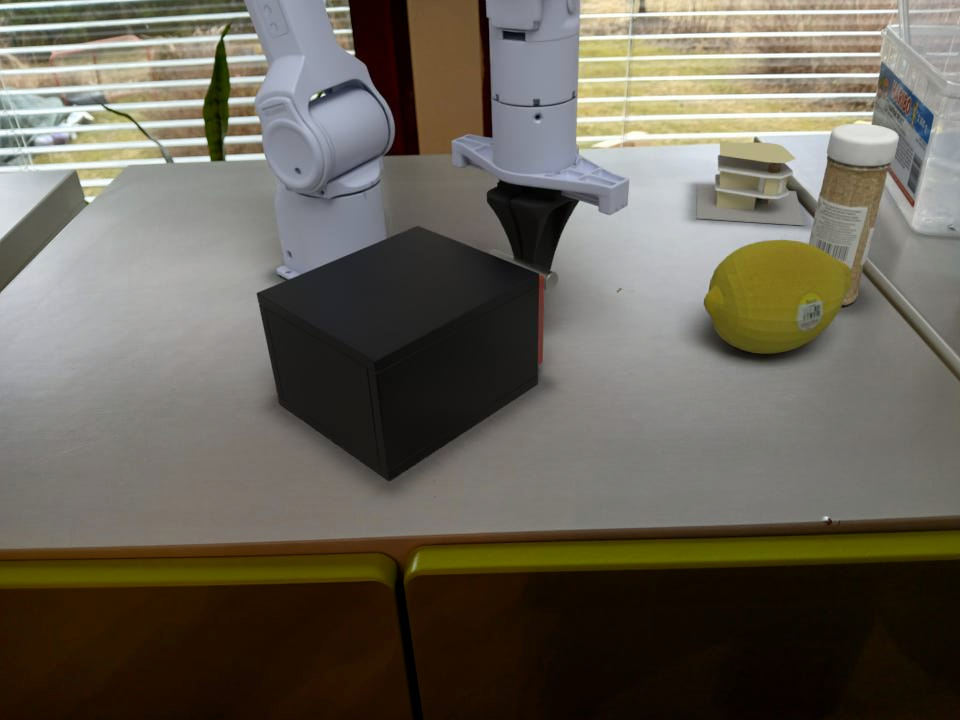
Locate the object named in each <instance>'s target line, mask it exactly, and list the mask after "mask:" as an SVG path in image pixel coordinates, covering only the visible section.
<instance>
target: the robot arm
mask: <svg viewBox="0 0 960 720" xmlns="http://www.w3.org/2000/svg"><path fill="white" fill-rule="evenodd" d="M243 2H244V4H245V7H246V10H247V12H248V15H249V18H250V21H251V23H252V25H253V28H254V31H255V33H256V36H257V38H258V41H259V44H260V47H261V50H262V51H263V55H264V57H265V60H266V63H267V64H268V65H267V66H268V70H267V72H266V75H265V77H264V78H263V81H262V83H261V85H260V87H259V90H258V91H257V92H256V93H257V94H256V95H255V98H254V101H253V106H254V109H255V112H256V114H257V116H258V119H259V123H260V127H261V128H260V129H261V144H262V145H261V146H262V151H263V154H264V158H265V160H266V162H267V164H268V166H269V168H270V171H272V173H273V175H274V176H275V177H276V178H277V180H278V181H279V183H278V185H277V188H276V189H275V193H274V198H273V207H274V214H275V219H276V220H275V221H276V225H277V231H278V235H279V237H278V238H279V243H280V247H281V252H282V257H283V263H284V264H283V265H281V266H279V267H277V268H276V274H277V275H278V276H280V277H283V278H284V279H286V280H289V279H291V278H294V277H296V276H298V275H301V274H303V273H306V272H308V271H310V270H313V269H315V268H318V267H320V266H322V265H325V264H327V263H329V262H332V261H334V260H337V259H339V258H341V257H344V256H346V255H349V254H351V253H353V252H356V251H358V250H361V249H363V248H365V247H368V246H370V245H373V244H375V243H377V242H380V241H382V240H385V239H387V238H388V237H387V228H386V217H385V207H384V198H383V197H384V196H383V187H382V178H381V172H382V171H383V170H385V167H384V156H385V155H386V154H387V153H388V152H389V151H390V149H391V148H392V145H393V143H394V140H395V135H396V125H395V120H394V115H393V113H392V111H391V108H390V106H389V104H388V103H387V101H386V100H385V98H384V97H383V96H382V95H381V94H380V92H379V91H378V90H377V88H376V87H375V85H374V83H373V81H372V79H371V77H370V73H369V70H368V67H367V65H366V64H365V63H364V62H363V61H361V60H360V59H359V58H357V57H356V56H354V55H353V54H351V53H350V52H348V51H347V50H345V49H344V48H343V47H342V46H341V45H339V44H338V40H337V37H336V35H335V32H334V29H333V26H332V23H331V20H330V17H329V15H328V12H327V9H326V5H325V2H324V0H243ZM485 10H486V11H485V12H486V13H485V14H486V18H488V30H489V32H488V33H489V38H488V39H489V64H490V102H491V125H492V126H491V128H492V129H491V130H492V131H491V133H492V137H489V136H488V137H487V136H481V135H476V134H471V133H468V134H466V135H463V136H460V137H458V138H455V139H453V140H451V141H450V143H451V157H452V158H451V159H452V166H454V167H457V168H459V169H464V168H467V167H472V168H473V169H478V170H481V171H484V172H487V173H489V174H490V175H491V176H493V177H494V178H496V179H497V180H498V181H497V183H496V186H495V187H491V188H490V189H489V190H487V191H486V203H487V204H488V206H489V207H490V209H491V210H492V211H493V212H494V214H495V216H496V217H497V219H498V221H499V223H500V224H501V227H502V229H503V231H504V233H505V235H506V237H507V240H508V243H509V245H510V249H511V252H512V256H514V257H516V258H518V259H521V260H523V261H526V262H529V263H531V264H535V265H538V266H540V267H543V268H545V269H548V270H550V271H552V270H551V269H552V266H553V262H554V258H555V255H556V252H557V247H558V245H559V242H560V239H561V237H562V234H563V232H564V231H565V230H564V229H565V227H566V225H567V224H568V222H569V220H570V218H571V216H572V214H573V212H574V210H575V209H576V207H577V206H578V204H579V203H580V202H582V203H586V204H588V205H593V206H595V207H597V208H598V211H597V212H599V213H600V214H604V215H607V216H612V215H613V214H615V213H618V212H620V211H621V210H622V209H624V208H627V207H628V204H629V193H630V192H629V191H630V178H628V177H626V176H622V175H619V174H616V173H614V172H612V171H610V170H608V169H606V168H604V167H603V166H601V165H599V164H597V163H596V162H594V161H592V160H590V159H588V158H586V157H585V156H583V155H581V154H580V146H579V145H578V144H577V129H578V128H577V127H578V126H577V125H578V95H579V68H580V67H579V65H580V63H579V62H580V31H581V30H580V28H581V16H580V15H581V0H485ZM320 92H321V93H323V94H324V95H322V96H319V97H317V98H315V99H312V97H313V96H314V95H316V94H317V93H320ZM311 99H312V100H311Z"/></svg>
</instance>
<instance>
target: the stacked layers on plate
mask: <svg viewBox="0 0 960 720" xmlns="http://www.w3.org/2000/svg"><path fill="white" fill-rule="evenodd" d="M794 160H796V156H794V155H793V154H792V152H790V151H788V149H787V148H785V146H782V145H780V144H778V143H773V142H719V154H718V155H717V171H719V173H718V174H717V173H716V174H715V175H714V186H711V185H697V193H696V194H697V195H696V196H697V197H696V198H697V199H696V219H699V220H700V219H701V220H716V221H717V220H718V221H731V222H746V223H760V224H777V225H791V226H805V223H804V219H803V215H802V211H801V210H802V209H801V207H800V202H799V198H798V195H797V191H796V190H789V189H788V188H787V182H788V177H790V176H793V174H794V171H793V169H792V168H791V167H790V166H789V165H788V164H786V163H789V162H791V161H794Z"/></svg>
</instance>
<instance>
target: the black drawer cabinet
mask: <svg viewBox="0 0 960 720" xmlns="http://www.w3.org/2000/svg"><path fill="white" fill-rule="evenodd" d="M539 280H540V274H539V273H537V272H534V271H532V270H529V269H527V268H524V267H521V266H519V265H516V264H514V263H511V262H509V261H506V260H504V259H501V258H499V257H496V256H494V255H491V254H489V253H488V252H486V251H483V250H481V249H478V248H476V247H473V246H471V245H469V244H466V243H464V242H461V241H458V240H455V239H454V238H451V237H448V236H445V235H443V234H440V233H438V232H436V231H433V230H431V229H428V228H425V227H423V226H420V225H415V226H413V227H411V228H409V229H406V230H404V231H402V232H399V233H396V234H394V235H392V236H389V237H387V239H385V240H382V241H380V242H377V243H375V244H373V245H370V246H368V247H365V248H363V249H361V250H358V251H356V252H353V253H351V254H349V255H346V256H344V257H341V258H339V259H337V260H334V261H332V262H329V263H327V264H325V265H322V266H320V267H318V268H315V269H313V270H310V271H308V272H306V273H303V274H301V275H298V276H296V277H294V278H291V279H289V280H288V279H286V280H284V281H281V282H279V283H277V284H274V285H272V286H270V287H267V288H265V289H262V290H260V291H258V292H256V298H257V303H258V307H259V313H260V317H261V322H262V327H263V331H264V336H265V340H266V341H265V342H266V346H267V352H268V356H269V361H270V364H271V370H272V375H273V380H274V385H275V391H276V394H277V400H278V404H279V405H280V406H282V407H283V408H285V409H286V410H288V411H289V412H290V413H292V414H293V415H295V416H296V417H298V418H299V419H300V420H301V421H303V422H304V423H306V424H307V425H309V427H312V428H313V429H314V430H316V431H318V432H319V433H320V434H321V435H323V436H325V437H326V438H327V439H329V440H330V441H332V442H333V443H335V444H336V445H337V446H339V447H340V448H341V449H343V450H344V451H346V452H347V453H348V454H350V455H351V456H353V457H354V458H356V459H357V460H358V461H360V462H362V463H363V464H364V465H366V466H367V467H369V468H370V469H371V470H372V471H374V472H376V473H377V474H379V475H380V476H381V477H383V478H384V479H385V480H387V481H389V482H390V481H392V480H393V479H395V478H396V477H398V476H399V475H401V474H403V473H404V472H405V471H407V470H408V469H410V468H412V467H413V466H414V465H416V464H418V463H419V462H420V461H423V460H424V459H425V458H427V457H428V456H430V455H432V454H433V453H434V452H436V451H437V450H439V449H441V448H442V447H443V446H446V445H447V444H448V443H450V442H451V441H453V440H454V439H456V438H457V437H459V436H461V435H462V434H464V433H465V432H467V431H468V430H470V429H471V428H472V427H474V426H476V425H478V423H480V422H481V421H483V420H486V419H487V418H488V417H490V416H491V415H492V414H494V413H496V412H497V411H498V410H500V409H502V408H504V407H505V406H506V405H508V404H509V403H511V402H512V401H513V400H515V399H517V398H518V397H520V396H521V395H523V394H525V393H526V392H527V391H529V390H531V389H532V388H534V387H536V386H537V385H538V383H539V365H538V343H539Z"/></svg>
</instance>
